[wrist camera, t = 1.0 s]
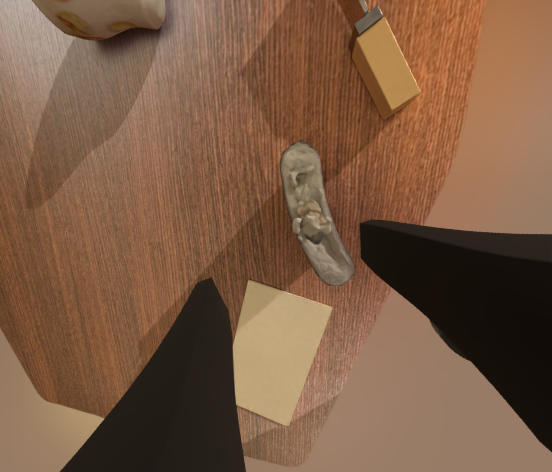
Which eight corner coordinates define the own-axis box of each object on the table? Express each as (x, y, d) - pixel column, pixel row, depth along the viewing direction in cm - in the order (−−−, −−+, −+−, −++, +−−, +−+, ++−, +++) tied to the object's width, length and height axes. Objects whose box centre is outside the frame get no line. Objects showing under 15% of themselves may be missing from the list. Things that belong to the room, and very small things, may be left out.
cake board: (332, 307, 22) (332, 308, 22) (288, 424, 27) (288, 427, 27) (249, 279, 23) (248, 280, 23) (221, 396, 28) (220, 398, 28)
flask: (342, 245, 20) (368, 298, 10) (314, 253, 21) (313, 310, 11) (313, 158, 19) (310, 117, 9) (285, 170, 20) (252, 145, 10)
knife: (306, -31, 16) (305, -74, 14) (331, -54, 16) (334, -103, 13) (382, 120, 17) (394, 108, 15) (408, 104, 17) (425, 88, 14)
